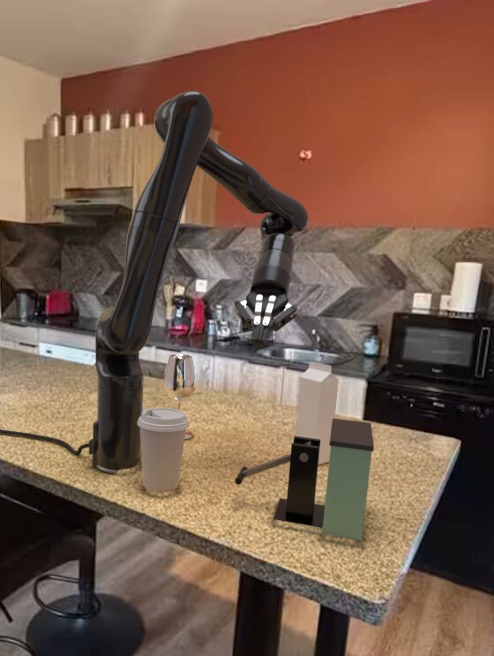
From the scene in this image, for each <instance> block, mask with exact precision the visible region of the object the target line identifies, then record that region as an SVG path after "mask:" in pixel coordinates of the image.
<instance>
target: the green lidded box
mask: <svg viewBox="0 0 494 656" xmlns="http://www.w3.org/2000/svg"><path fill="white" fill-rule="evenodd" d="M329 445H330V446H331V448H330V458H329V462H328V470H327V479H326V480H327V481H326V491H325V500H324V506H325V510H324V520H323V528H322V530H321V535H327V536H332V537H339V538H344V539H350V540H354V541H363V536H364V535H363V534H364V528H365V527H364V526H365V516H366V507H367V498H368V490H369V482H370V481H369V480H370V472H371V462H372V453H373V452H374V450H375V449H374V448H375V444H374V437H373V429H372V423H371V422H366V421H358V420H351V419H341V418H335V419H334V418H333V419H332V427H331V435H330V444H329Z"/></svg>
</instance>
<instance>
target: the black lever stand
mask: <svg viewBox="0 0 494 656" xmlns="http://www.w3.org/2000/svg"><path fill="white" fill-rule="evenodd" d="M309 441H311V443H312V445H313V446H312V445H305V444H304V443H306V442H309ZM319 451H320V439H314V438H307V437H299V436H295V435H294V436H293V441H292V443H291V445H290V454H291V456H290V462H289V469H288V482H287V493H286V498H281V497H280V498H279V499H278V503H277V506H276V509H275V513H274V515H273V521H280V522H286V523H292V524H298V525H303V526H308V527H309V526H310V527H314V528H320V529H323V520H324V510H325V504H324V505H323V504H318V503H316V493H317V492H316V491H317V482H318V471H319V465H318V462H319Z"/></svg>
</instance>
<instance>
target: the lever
mask: <svg viewBox="0 0 494 656" xmlns="http://www.w3.org/2000/svg"><path fill="white" fill-rule="evenodd" d="M304 444H305V445H312V443H311V441H309V442H306V443H304ZM312 446H313V445H312ZM290 456H291V453H288V454H286V455H282V456H280V457H277V458H274V459H272V460H269V461H266V462H264V463H261V464H258V465H256V466H252V467H250V468H248V467H247V466H244V465H243V466H242V467H241V468H240V470H239V471H238V474H237V475H236V477H235V479H234V483H235V484H236V485H237V486H238V485H239V486H240V485H242V483H243V482H244V480H245V479H246V478H248V477H251V476H255V475H257V474H259V473H263V472H266V471H268V470H271V469H273V468H274V469H275V468H276V467H279V466H283V465H285V464H287V463H290Z"/></svg>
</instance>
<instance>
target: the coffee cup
mask: <svg viewBox="0 0 494 656" xmlns="http://www.w3.org/2000/svg"><path fill="white" fill-rule="evenodd" d="M137 425H138V426H139V427H140V439H141V473H142V475H141V476H142V485H143V487H144V488H146V489H147V490H150V491H154V492H170V491H173V490H176V489H177V488H178V487H179V483H180V482H179V481H180V476H181V475H180V474H181V467H182V466H181V465H182V459H183V453H184V447H185V446H184V445H185V440H186V439H185V433H186V431H187V429H188V428H189V426H190V423H189V420H188V418H187V417H186V413H185V412H184V411H183V410H181V409H180V410H178V409H177V408H172V407H149V408H146V409H144V410H142V414H141V416H140V417H139V419H138V422H137Z"/></svg>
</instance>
